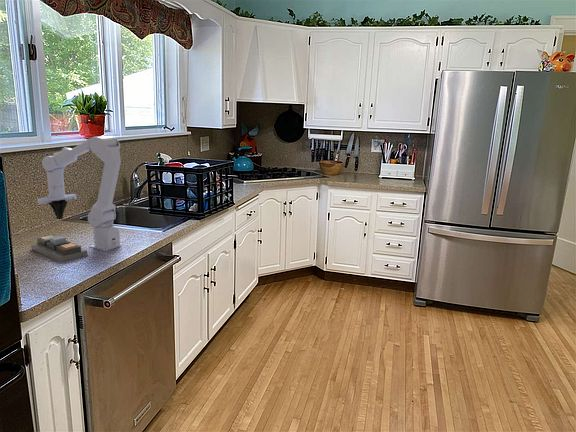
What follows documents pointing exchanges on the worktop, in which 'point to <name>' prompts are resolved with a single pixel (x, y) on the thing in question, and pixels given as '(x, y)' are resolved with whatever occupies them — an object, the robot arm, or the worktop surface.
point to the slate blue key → (57, 240)
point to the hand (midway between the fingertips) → (59, 218)
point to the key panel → (58, 250)
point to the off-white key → (46, 238)
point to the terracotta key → (68, 246)
